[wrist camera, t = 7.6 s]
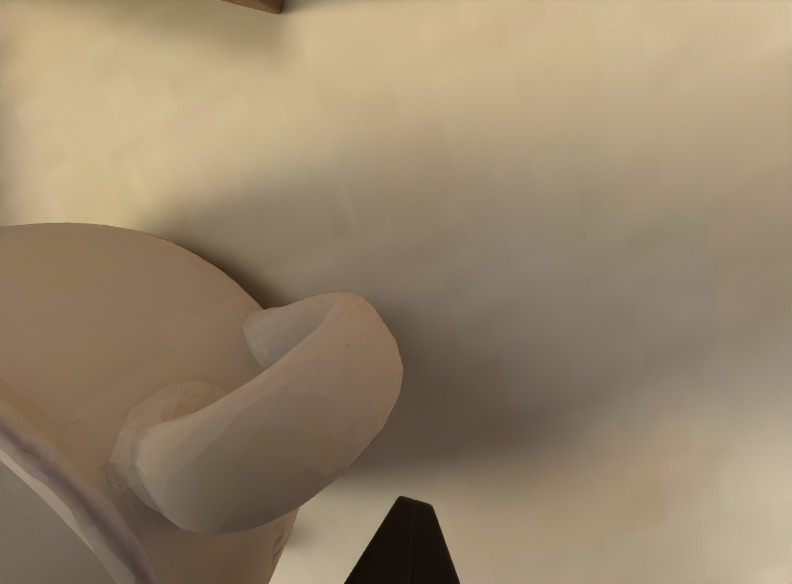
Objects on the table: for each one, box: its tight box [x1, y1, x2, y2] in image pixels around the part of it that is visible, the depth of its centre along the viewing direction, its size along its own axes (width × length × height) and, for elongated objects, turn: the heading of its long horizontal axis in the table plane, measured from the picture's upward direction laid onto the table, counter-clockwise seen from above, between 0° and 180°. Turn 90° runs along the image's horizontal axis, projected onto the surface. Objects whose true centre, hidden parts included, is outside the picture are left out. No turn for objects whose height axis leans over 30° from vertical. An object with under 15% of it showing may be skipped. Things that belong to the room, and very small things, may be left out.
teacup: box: [0, 223, 404, 584], centre depth 9 cm, size 14×11×8 cm
